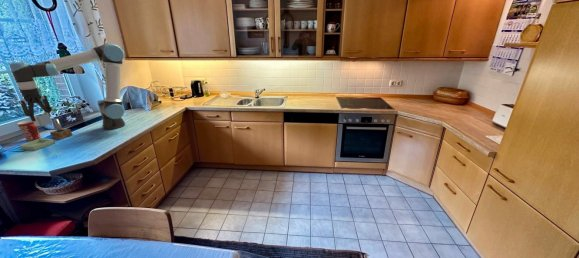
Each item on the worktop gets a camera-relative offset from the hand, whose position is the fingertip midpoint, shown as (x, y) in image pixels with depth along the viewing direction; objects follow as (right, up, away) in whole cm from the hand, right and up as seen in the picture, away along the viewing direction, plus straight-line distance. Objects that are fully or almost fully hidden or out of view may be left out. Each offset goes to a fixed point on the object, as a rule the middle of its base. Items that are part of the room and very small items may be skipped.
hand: (43, 123), depth 155 cm
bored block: (-9, -9, +22) cm, 26 cm away
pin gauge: (-9, -9, +22) cm, 26 cm away
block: (0, 0, 0) cm, 1 cm away
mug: (-26, -11, +19) cm, 34 cm away
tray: (-11, -15, +8) cm, 21 cm away
